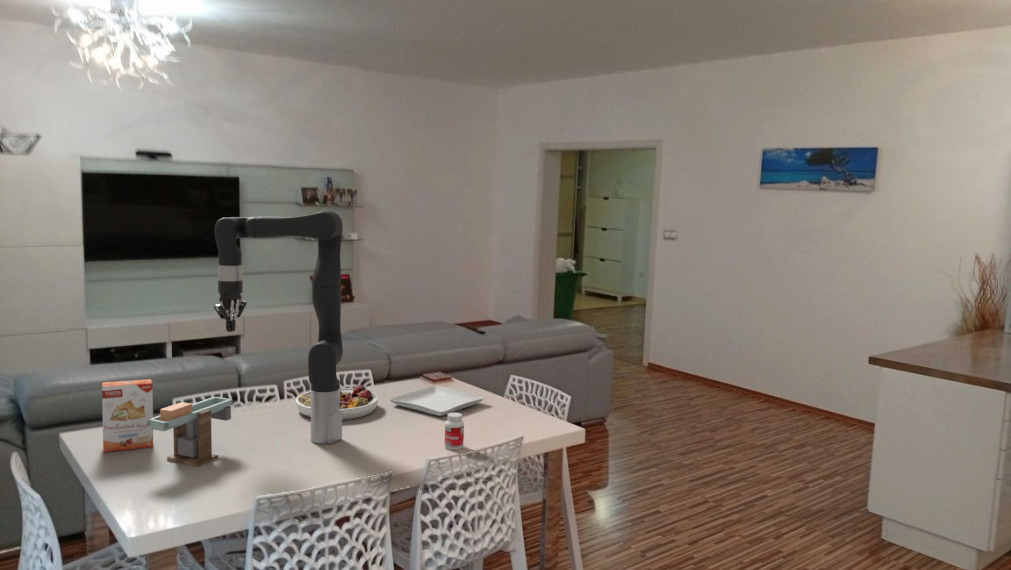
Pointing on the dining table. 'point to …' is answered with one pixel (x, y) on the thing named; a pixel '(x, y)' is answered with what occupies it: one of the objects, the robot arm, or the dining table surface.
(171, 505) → the dining table surface
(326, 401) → the robot arm
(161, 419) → the block
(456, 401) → the square plate
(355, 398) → the bowl
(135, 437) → the cracker box
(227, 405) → the beam
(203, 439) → the pivot stand
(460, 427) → the pill bottle
